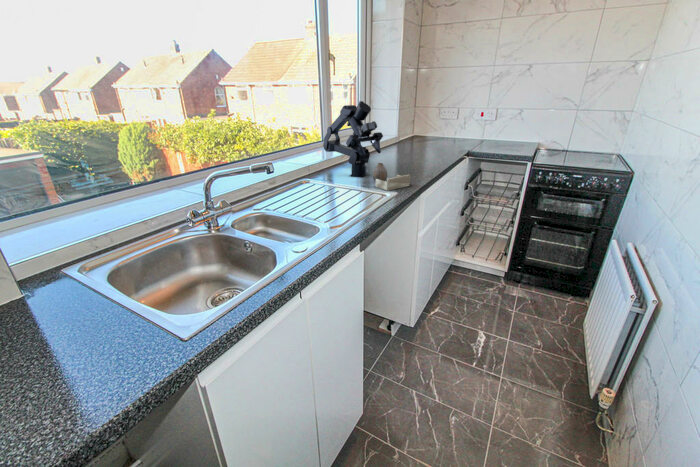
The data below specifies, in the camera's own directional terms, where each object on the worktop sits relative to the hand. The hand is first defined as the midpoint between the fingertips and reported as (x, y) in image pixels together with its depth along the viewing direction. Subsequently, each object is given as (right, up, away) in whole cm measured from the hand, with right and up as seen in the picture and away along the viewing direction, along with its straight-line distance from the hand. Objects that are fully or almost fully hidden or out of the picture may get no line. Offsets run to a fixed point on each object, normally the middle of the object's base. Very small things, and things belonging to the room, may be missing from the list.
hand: (372, 154), depth 154 cm
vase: (+3, -13, +1) cm, 14 cm away
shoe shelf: (+9, -16, -6) cm, 19 cm away
